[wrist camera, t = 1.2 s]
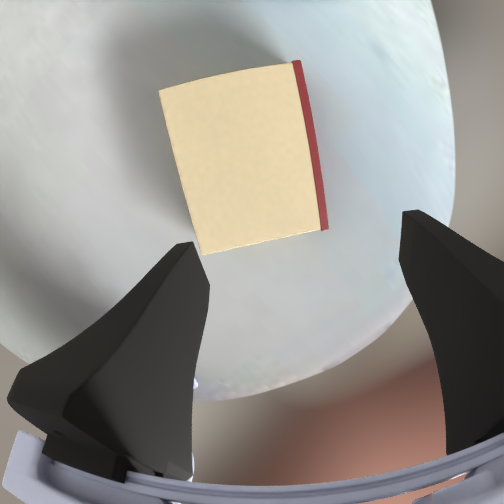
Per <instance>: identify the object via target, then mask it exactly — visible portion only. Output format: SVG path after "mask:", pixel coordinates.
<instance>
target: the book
mask: <svg viewBox="0 0 504 504" xmlns="http://www.w3.org/2000/svg"><path fill="white" fill-rule="evenodd" d="M159 96H160V101H161V105H162V109H163V113H164V118H165V122H166V126H167V130H168V134H169V138H170V142H171V146H172V150H173V154H174V158H175V162H176V166H177V169H178V173H179V177H180V181H181V184H182V188H183V192H184V195H185V199H186V203H187V206H188V210H189V213H190V217H191V220H192V224H193V227H194V231H195V234H196V238H197V241H198V244H199V248H200V251H201V254H202V255H206V254H211V253H215V252H220V251H224V250H229V249H233V248H238V247H242V246H247V245H251V244H256V243H260V242H265V241H269V240H274V239H279V238H283V237H288V236H292V235H297V234H301V233H306V232H311V231H315V230H321V231H323V230H327V229H328V219H327V211H326V203H325V195H324V187H323V180H322V173H321V166H320V160H319V154H318V147H317V141H316V135H315V130H314V124H313V118H312V113H311V108H310V103H309V97H308V92H307V88H306V83H305V78H304V73H303V69H302V64H301V61H300V60H296V61H292V62H291V63H283V64H276V65H269V66H262V67H256V68H250V69H244V70H239V71H234V72H229V73H224V74H219V75H215V76H210V77H206V78H202V79H198V80H194V81H190V82H186V83H183V84H179V85H175V86H172V87H168V88H165V89H162V90H159Z"/></svg>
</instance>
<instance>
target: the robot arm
mask: <svg viewBox="0 0 504 504" xmlns="http://www.w3.org/2000/svg"><path fill="white" fill-rule="evenodd" d="M399 262H400V266H401V269H402V272H403V275H404V278H405V281H406V284H407V286H408V289H409V291H410V293H411V295H412V297H413V300H414V302H415V304H416V307H417V309H418V311H419V313H420V316H421V318H422V320H423V323H424V325H425V327H426V330H427V332H428V334H429V338H430V340H431V344H432V347H433V351H434V355H435V359H436V363H437V368H438V373H439V377H440V383H441V389H442V395H443V403H444V412H445V424H446V453H447V456H445V457H442V458H439V459H436V460H433V461H429V462H426V463H423V464H419V465H416V466H412V467H408V468H404V469H400V470H396V471H392V472H387V473H383V474H378V475H373V476H367V477H362V478H356V479H349V480H343V481H335V482H326V483H317V484H304V485H289V486H237V485H236V486H235V485H220V484H207V483H197V482H192V478H193V473H194V457H193V453H192V432H191V431H192V428H191V427H192V423H191V422H192V421H191V420H192V401H193V389H195V388H197V387H198V383H197V381H196V379H195V377H194V376H195V369H196V363H197V358H198V353H199V349H200V344H201V340H202V335H203V331H204V326H205V322H206V317H207V312H208V304H209V292H210V284H209V281H208V279H207V276H206V274H205V271H204V269H203V266H202V264H201V261H200V259H199V256H198V254H197V251H196V248H195V246H194V243H193V241H192V242H186V243H180V244H176V245H175V246H174V247H173V248H172V249H171V250H170V251H169V252H168V253H167V254H166V255H165V256H164V257H163V258H162V259H161V260H160V261H159V262H158V263H157V264H156V265H155V266H154V267H153V268H152V269H151V270H150V271H149V272H148V273H147V274H146V275H145V276H144V277H143V279H142V280H141V281H140V282H139V283H138V284H137V285H136V286H135V287H134V288H133V289H132V290H131V291H130V292H129V293H128V294H127V295H126V296H125V297H124V298H123V299H122V300H120V301H119V302H118V303H117V304H116V305H115V306H114V307H113V308H112V309H111V310H109V311H108V312H107V313H106V314H105V315H104V316H102V317H101V318H100V319H99V320H98V321H96V322H95V323H94V324H92V325H91V326H90V327H88V328H87V329H86V330H84V331H83V332H82V333H80V334H79V335H78V336H76V337H75V338H74V339H72V340H71V341H69V342H68V343H66V344H65V345H63V346H62V347H60V348H58V349H57V350H55V351H53V352H52V353H50V354H48V355H47V356H45V357H43V358H41V359H39V360H37V361H35V362H33V363H32V364H30V365H28V366H26V367H24V368H22V369H20V371H19V373H18V374H17V376H16V379H15V381H14V383H13V385H12V387H11V390H10V392H9V394H8V396H7V401H8V403H9V405H10V406H11V407H12V408H13V409H14V410H15V411H16V412H17V413H18V414H20V415H21V416H22V417H23V418H25V419H26V420H28V421H29V422H30V423H32V424H33V425H35V426H36V427H37V428H39V429H40V430H42V431H43V432H45V433H46V434H48V435H47V438H46V441H44V440H42V439H41V438H38V437H37V436H34V435H32V434H29V433H27V432H25V431H22V430H18V433H17V436H16V439H15V442H14V445H13V448H12V451H11V454H10V458H9V460H8V464H7V467H6V471H5V474H4V478H3V482H2V486H3V487H4V488H5V489H7V490H8V491H9V492H10V493H12V494H13V495H15V496H16V497H18V498H19V499H20V500H22V501H23V502H24V503H26V504H357V503H362V502H369V501H374V500H378V499H383V498H388V497H392V496H396V495H400V494H405V493H408V492H412V491H416V490H419V489H422V488H426V487H429V486H432V485H435V484H438V483H441V482H444V481H447V480H449V479H452V478H455V477H458V476H460V475H463V474H465V473H468V472H469V473H468V474H467V475H466V476H465V479H464V480H463V481H461V482H458V483H456V484H453V485H451V486H448V487H445V488H443V489H440V490H437V491H435V492H433V493H431V494H429V495H427V496H424V497H421V498H418V499H415V500H414V501H413V502H412V504H504V262H503V261H501V260H499V259H498V258H496V257H494V256H492V255H491V254H489V253H487V252H485V251H484V250H482V249H481V248H479V247H477V246H476V245H474V244H473V243H471V242H470V241H468V240H466V239H465V238H463V237H462V236H460V235H459V234H457V233H456V232H454V231H453V230H451V229H450V228H448V227H447V226H445V225H444V224H442V223H441V222H439V221H437V220H436V219H434V218H433V217H431V216H429V215H428V214H426V213H424V212H422V211H420V210H411V211H403V213H402V228H401V240H400V251H399Z"/></svg>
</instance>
